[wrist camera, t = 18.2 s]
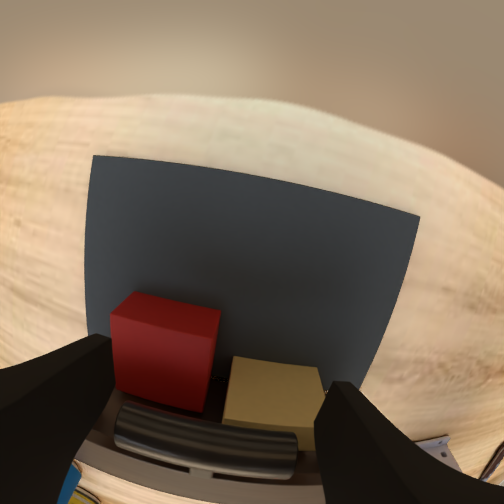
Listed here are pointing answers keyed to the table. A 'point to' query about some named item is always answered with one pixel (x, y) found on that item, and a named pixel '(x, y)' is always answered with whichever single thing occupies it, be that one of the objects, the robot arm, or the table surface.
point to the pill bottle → (82, 497)
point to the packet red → (164, 349)
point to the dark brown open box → (200, 453)
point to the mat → (248, 260)
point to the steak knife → (493, 465)
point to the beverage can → (69, 484)
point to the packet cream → (274, 398)
